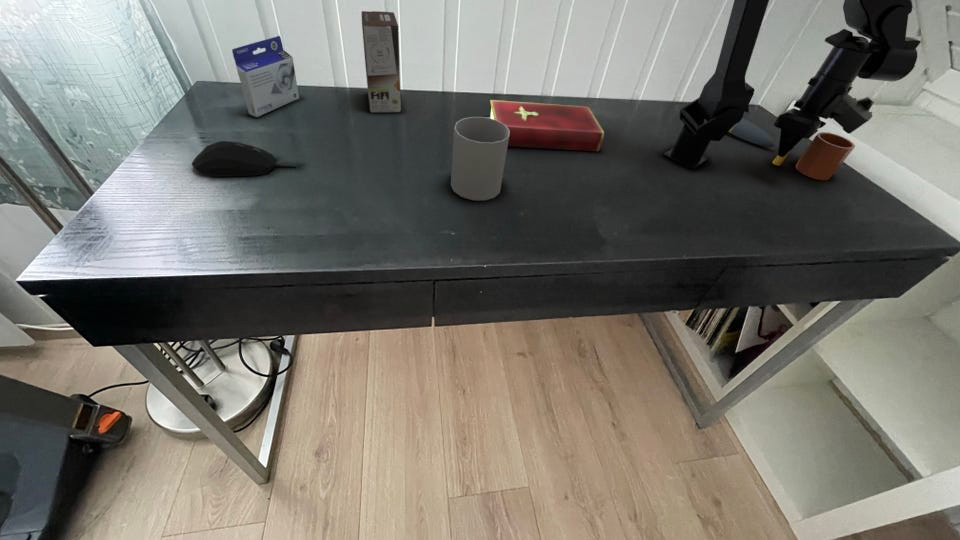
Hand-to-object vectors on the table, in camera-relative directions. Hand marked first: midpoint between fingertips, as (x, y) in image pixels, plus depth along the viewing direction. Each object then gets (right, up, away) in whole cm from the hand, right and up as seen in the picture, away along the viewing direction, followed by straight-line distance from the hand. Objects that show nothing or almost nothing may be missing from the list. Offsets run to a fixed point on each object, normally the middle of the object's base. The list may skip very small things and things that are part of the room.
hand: (782, 154), depth 85 cm
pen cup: (+7, -3, +2) cm, 8 cm away
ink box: (-101, +9, -2) cm, 102 cm away
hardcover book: (-49, +4, +1) cm, 49 cm away
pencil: (0, -1, +1) cm, 2 cm away
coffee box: (-82, +12, +4) cm, 83 cm away
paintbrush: (-4, +8, +12) cm, 15 cm away
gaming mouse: (-99, -7, -18) cm, 100 cm away
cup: (-62, -9, -15) cm, 65 cm away
